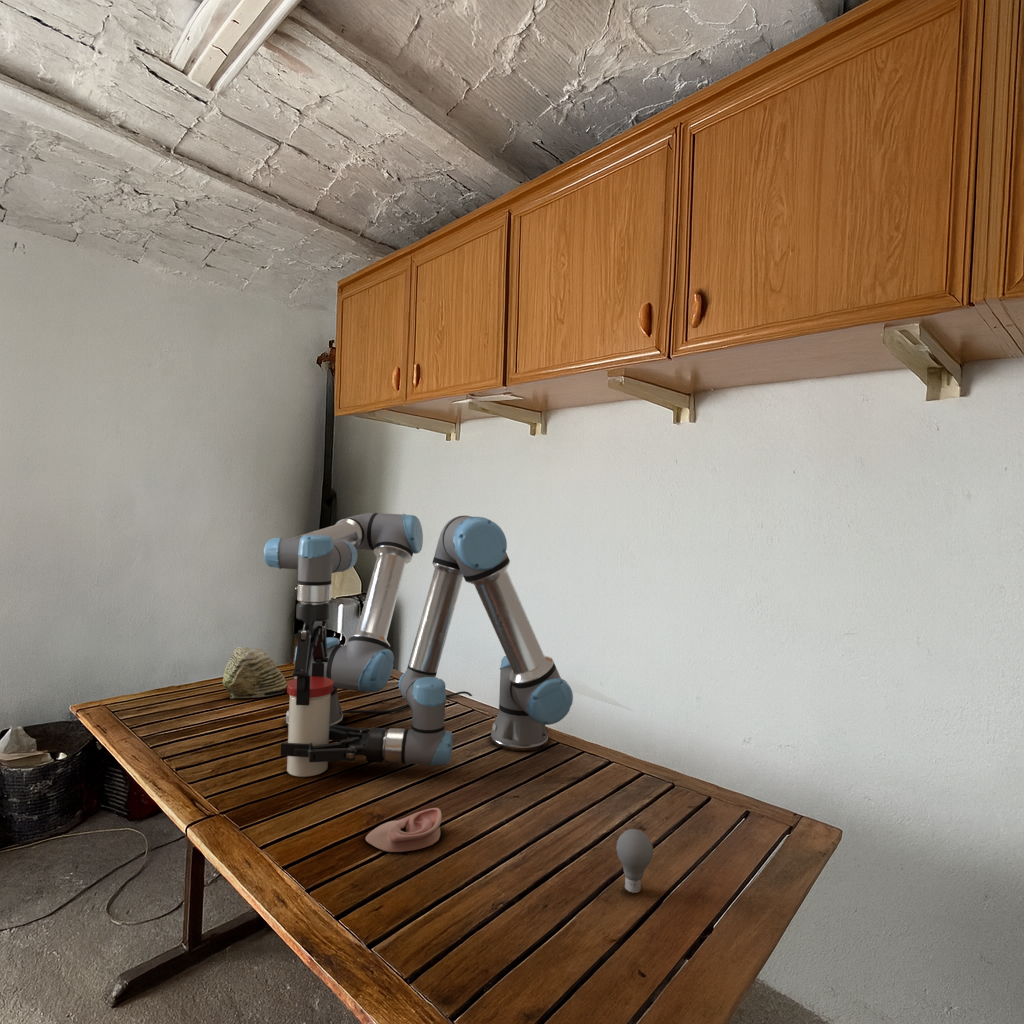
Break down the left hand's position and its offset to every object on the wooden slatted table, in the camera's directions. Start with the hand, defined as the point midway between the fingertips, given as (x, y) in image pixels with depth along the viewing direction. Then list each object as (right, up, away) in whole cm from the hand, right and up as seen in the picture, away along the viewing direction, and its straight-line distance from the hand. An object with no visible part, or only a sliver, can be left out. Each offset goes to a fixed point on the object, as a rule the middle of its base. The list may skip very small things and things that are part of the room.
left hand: (310, 697), depth 147 cm
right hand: (-5, -10, 0) cm, 11 cm away
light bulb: (+67, -20, -41) cm, 81 cm away
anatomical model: (+27, -18, -28) cm, 43 cm away
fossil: (-34, -14, +51) cm, 63 cm away
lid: (0, +3, 0) cm, 3 cm away
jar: (-1, -17, 0) cm, 17 cm away
